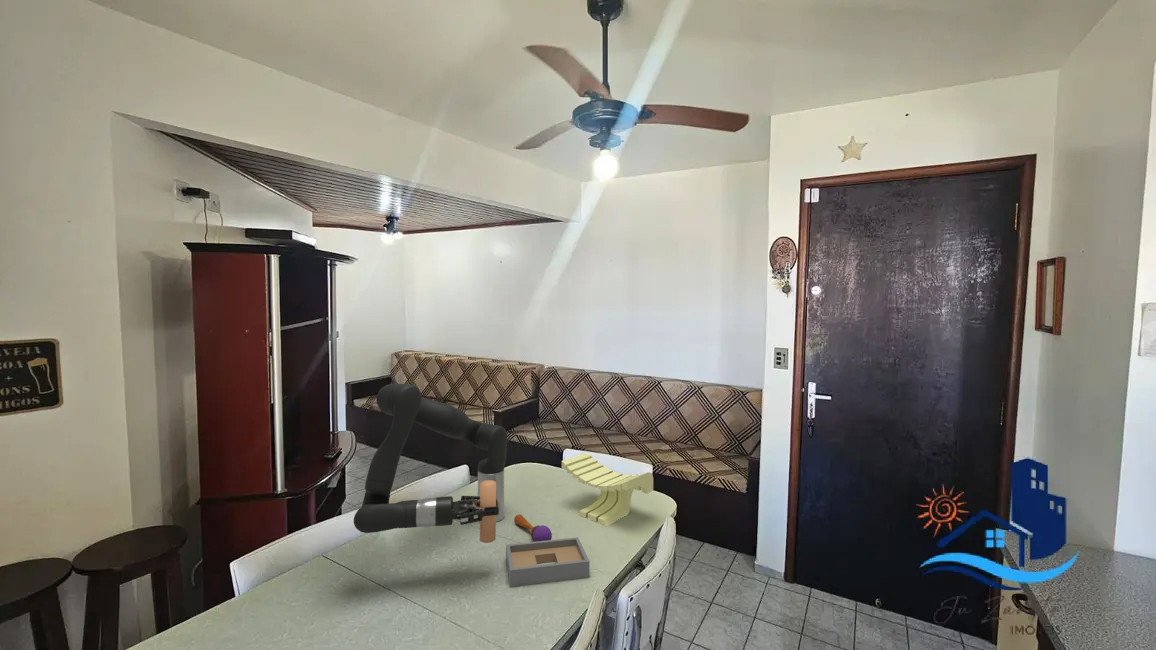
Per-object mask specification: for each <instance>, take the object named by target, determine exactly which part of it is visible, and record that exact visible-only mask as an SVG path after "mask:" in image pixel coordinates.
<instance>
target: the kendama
mask: <svg viewBox="0 0 1156 650" xmlns="http://www.w3.org/2000/svg"><path fill="white" fill-rule="evenodd" d="M513 522H514V523H515V525H517V526H520V527H522V528H524V529H527V530H530V533H531V537H532V539H533V542H537V541H547V540H552V538H553V537H552V536H553V533H552V531H551V529H550V528H549V527H548V526H547V525H535V526H533V525H532V524H531V523H530V522H529V521H528V520H527V519H526V517H524V516H523V515H522V514H521V513H520V514H517V515H515V516H514V521H513Z"/></svg>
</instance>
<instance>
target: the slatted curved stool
mask: <svg viewBox="0 0 1156 650" xmlns="http://www.w3.org/2000/svg"><path fill="white" fill-rule="evenodd" d="M561 469H563V470H566V473H567V474H570V475H571V474H572V478H574V479H577V481H578V483H581V484H584V485H587V486H590V487H593V488H595V489H598V490H600V495H599V497H598V499H597V500H595V501H593V503H590V505H588V506H586V507H585V508H582V509H580V510H579V512H578V514H577V515H578V516H580V517H583V518H584V517H585V518H584V519H587V520H589V519H590V520H589V521H592V520H593V521H592V522H594V521H595V523H598V524H599V523H600V524H599V525H601V524H602V525H601V526H605V527H607V525H608V526H610V525H612V524H613V523H615V522H617V521H619V520H621V519H623V518H624V516H625V517H626V516H628V515H629V514H630V511H631V501H632V500H631V499H632V496H633V492H634V490H636V491H640V492H642V493H644V494H645V495H647V494H649V493H652V492H653V491H654V475H653V473H652V472H650V471H647V472H645V473H643V472H642V473H640V474H634V475H633V474H623V473H621V472H618V471H614V470H612V469H610V468H609V467H606V466H605V465H604V464H602V463H600V462H599V461H598V460H597V459H595V458H593V456H592V455H591V454H589V453H585V452H583V453H581V454H579V455H575V456H572V457H570V458H565V459H564V460H561ZM586 517H587V518H586ZM622 517H623V518H622ZM620 518H621V519H620ZM618 519H619V520H618ZM616 520H617V521H616ZM596 521H597V522H596ZM611 523H612V524H611ZM609 524H610V525H609Z"/></svg>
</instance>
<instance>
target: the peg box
mask: <svg viewBox="0 0 1156 650" xmlns="http://www.w3.org/2000/svg"><path fill="white" fill-rule="evenodd" d="M505 560H506V561H505V562H506V563H505V564H506V567H507V568H506V569H507V575H508V581H509V587H510V588H513V587H517V586H518V587H519V586H528V585H536V584H543V583H552V582H561V581H569V580H576V579H585V578H590V559H589V557H588V555H587V553H586V551H585V549H584V547H583V545H582V542H581V541H580V538H579V537H569V538H557V539H551V540H547V541H537V542H534V541H528V542H518V543H510V544H505ZM551 562H552V563H551ZM553 562H555V563H553ZM541 563H542V564H541ZM543 563H545V564H543Z"/></svg>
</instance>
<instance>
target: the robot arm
mask: <svg viewBox="0 0 1156 650" xmlns="http://www.w3.org/2000/svg"><path fill="white" fill-rule="evenodd" d="M375 402H376V405H377V407H378V408H379V410H380V411H381V412H382V413H383V414H385V415H387V416H391V417H393V418H392V423H391V426H390V429H389V431H388V433H387V434H386V436H385V438H384V440H383V442H382V443H381V444H380V445H379V447H378V448H377V450H376V451H375V453H374V455H373V457H372V459H371V460H370V461H371V462H370V464H369V468H368V471H367V475H366V480H365V482H364V489H365V492H364V496H363V500H362V503H361V506H360V507H359V509H357V511H356V512H355V514H354V517H353V525H354V527H355V529H356V530H357V531H359V532H361V533H364V534H368V533H369V534H371V533H372V534H373V533H378V532H379V533H380V532H383V531H384V532H387V531H391V530H394V529H410V528H413V529H414V528H433V527H435V528H437V527H446V526H452V525H453V523H454V522H453V520H459V521H460V525H461V526H463V525H465V526H466V525H468V524H473V523H477V522H478V523H479V522H480V521H482V518H484V517H485V516H492V515H496V523H497V522H500V521H502V520H504V517H505V466H506V465H505V464H506V461H507V452H508V451H507V450H508V433H507V430H506V428H505V427H503V426H501V425H499V424H498V425H497V424H492V423H487V422H481V421H477V420H475V419H474V420H473V419H472V418H470V417H469V416H468V415H467V414H466V413H465V412H464V411H463V410H461V409H459V407H458V408H457V407H455V406H453V405H451V404H448V403H444V402H441V401H436V400H433V399H428V398H422V392H421V390H420V388H418V387H417V386H416V385H414V384H409V383H397V382H395V383H390V384H386V385H384V386H382V387H381V388H380V389H379V390H378V392H377V394H376V399H375ZM414 423H416V424H418V425H419V426H422V427H425V428H426V429H429V430H430V431H433V432H435V433H437V434H441V435H442V436H446V437H448V438H453V439H459V440H463V441H465V442H467V443H468V444H470V445H472V446H474V447H476V448H477V449H479V450H483V451H487V458H483V459H481V460H479V461H478V463H477V496H476V495H461V496H460V500H457V501H456V500H455V501H454V497H453V496H452V495H451V496H450V495H449V496H436V497H434V496H433V497H425V498H420V499H408V500H401V501H397V502H392V503H390V499H391V498H390V497H391V492H392V489H393V485H394V482H395V478H396V477H395V476H396V473H397V469H398V465H399V462H400V459H401V455H402V452H403V449H404V447H405V444H406V443H407V440H408V437H409V435H410V432H411V430H412V427H413V426H414ZM486 480H493V481H495V482H496V506H494V507H485V508H484V507H480V483H481V482H482V481H486Z"/></svg>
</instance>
